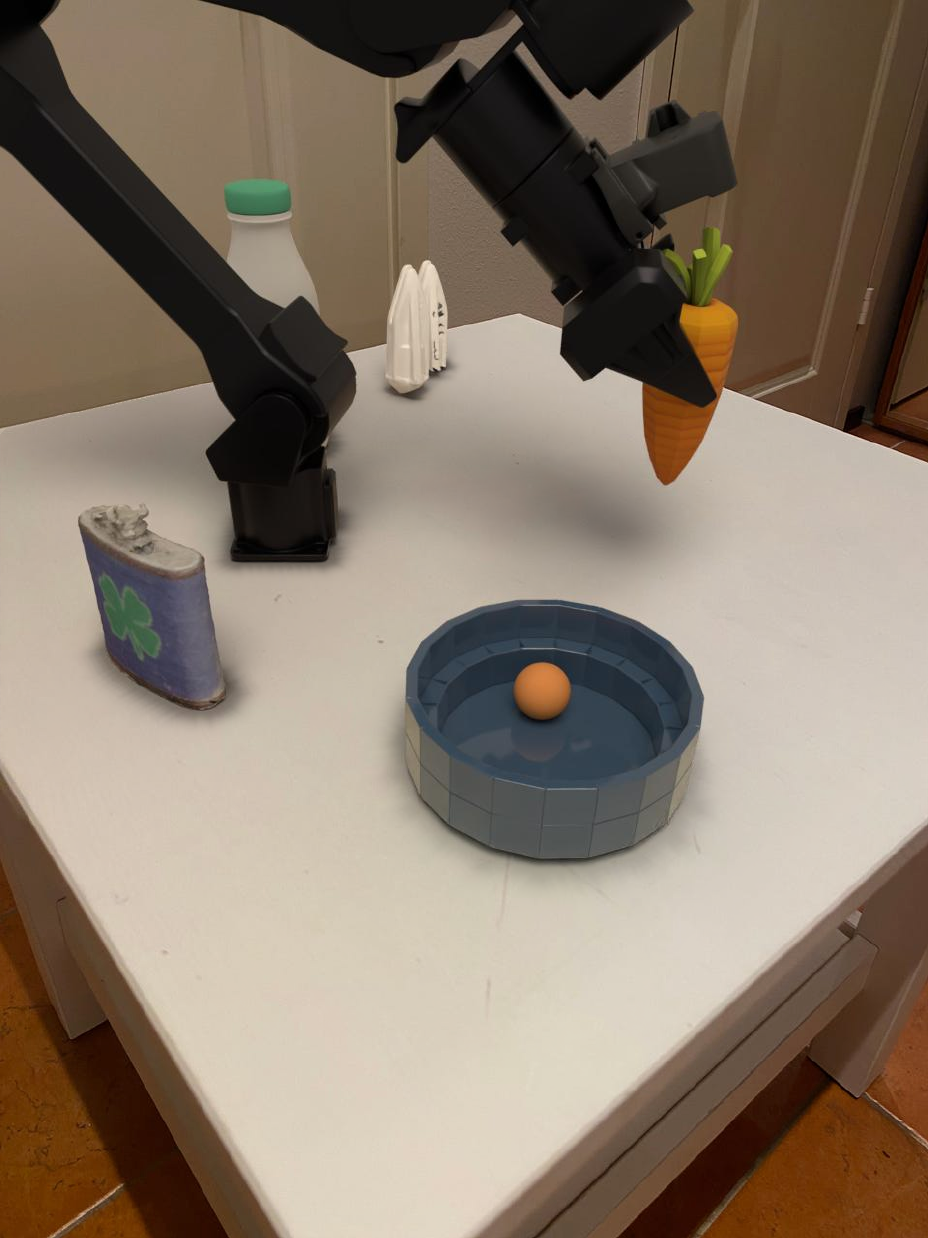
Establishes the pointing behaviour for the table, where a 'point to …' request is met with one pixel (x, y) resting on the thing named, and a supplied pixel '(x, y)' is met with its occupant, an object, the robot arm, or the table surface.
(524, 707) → the ball
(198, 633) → the flask
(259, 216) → the milk bottle
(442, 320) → the shaker set
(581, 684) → the bowl
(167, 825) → the table surface
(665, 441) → the carrot
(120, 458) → the table surface
